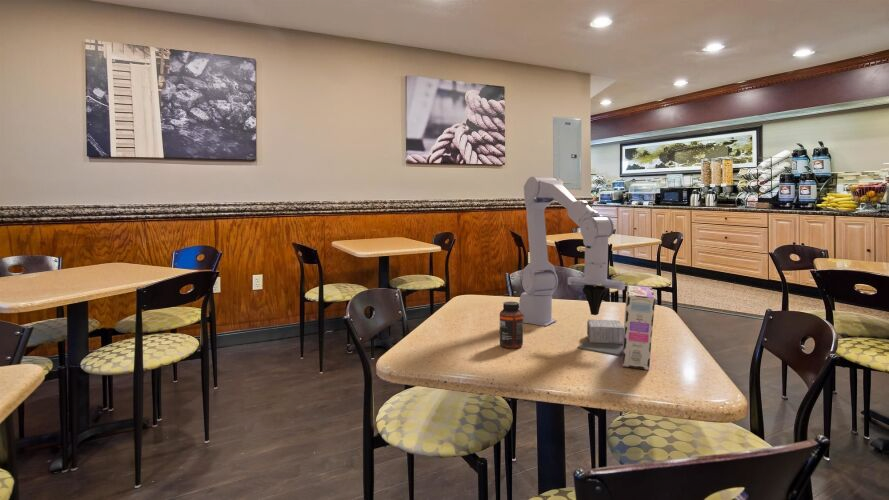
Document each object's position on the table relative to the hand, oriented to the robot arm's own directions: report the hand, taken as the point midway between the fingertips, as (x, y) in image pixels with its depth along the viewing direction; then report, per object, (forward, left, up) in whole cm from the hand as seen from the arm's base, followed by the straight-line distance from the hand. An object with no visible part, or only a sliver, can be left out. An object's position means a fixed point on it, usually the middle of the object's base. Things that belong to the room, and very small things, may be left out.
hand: (594, 314), depth 130 cm
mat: (+4, 0, -7) cm, 8 cm away
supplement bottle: (-16, -16, -8) cm, 24 cm away
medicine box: (-2, +1, -5) cm, 5 cm away
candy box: (+13, -9, -7) cm, 17 cm away
